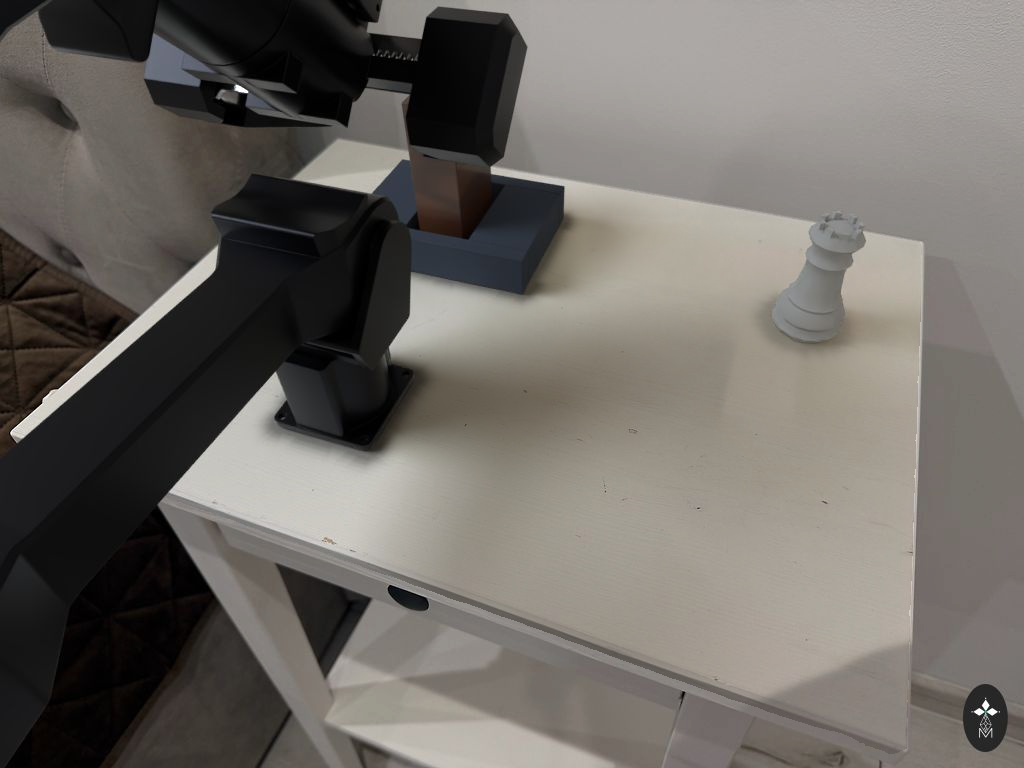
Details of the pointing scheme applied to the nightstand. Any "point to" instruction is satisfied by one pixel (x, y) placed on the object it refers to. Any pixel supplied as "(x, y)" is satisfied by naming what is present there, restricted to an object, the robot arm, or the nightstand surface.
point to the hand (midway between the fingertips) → (399, 128)
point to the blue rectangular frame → (484, 232)
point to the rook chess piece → (820, 281)
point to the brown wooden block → (448, 192)
